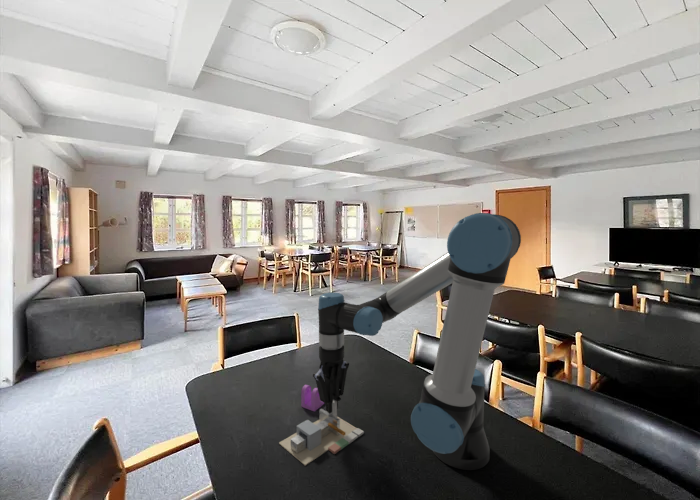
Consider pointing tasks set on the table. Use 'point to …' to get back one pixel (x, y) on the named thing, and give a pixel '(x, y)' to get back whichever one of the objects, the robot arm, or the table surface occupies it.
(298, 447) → the grey sliding clamp
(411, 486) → the table surface
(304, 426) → the beige mechanism board
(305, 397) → the bracket
